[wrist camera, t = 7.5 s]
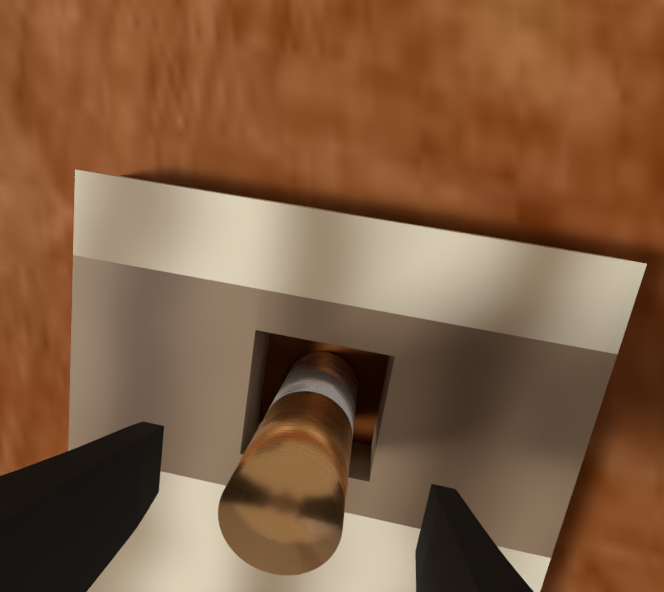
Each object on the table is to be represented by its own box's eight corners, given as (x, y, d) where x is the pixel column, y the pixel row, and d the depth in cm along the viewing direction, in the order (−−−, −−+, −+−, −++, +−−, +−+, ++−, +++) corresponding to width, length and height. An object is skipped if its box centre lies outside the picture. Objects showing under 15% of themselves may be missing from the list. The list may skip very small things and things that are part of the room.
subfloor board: (604, 255, 15) (647, 263, 13) (488, 639, 19) (504, 702, 17) (119, 175, 17) (75, 169, 14) (102, 546, 21) (65, 591, 18)
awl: (365, 360, 17) (354, 482, 9) (349, 425, 18) (328, 589, 10) (294, 343, 17) (228, 449, 10) (281, 408, 18) (209, 556, 10)
